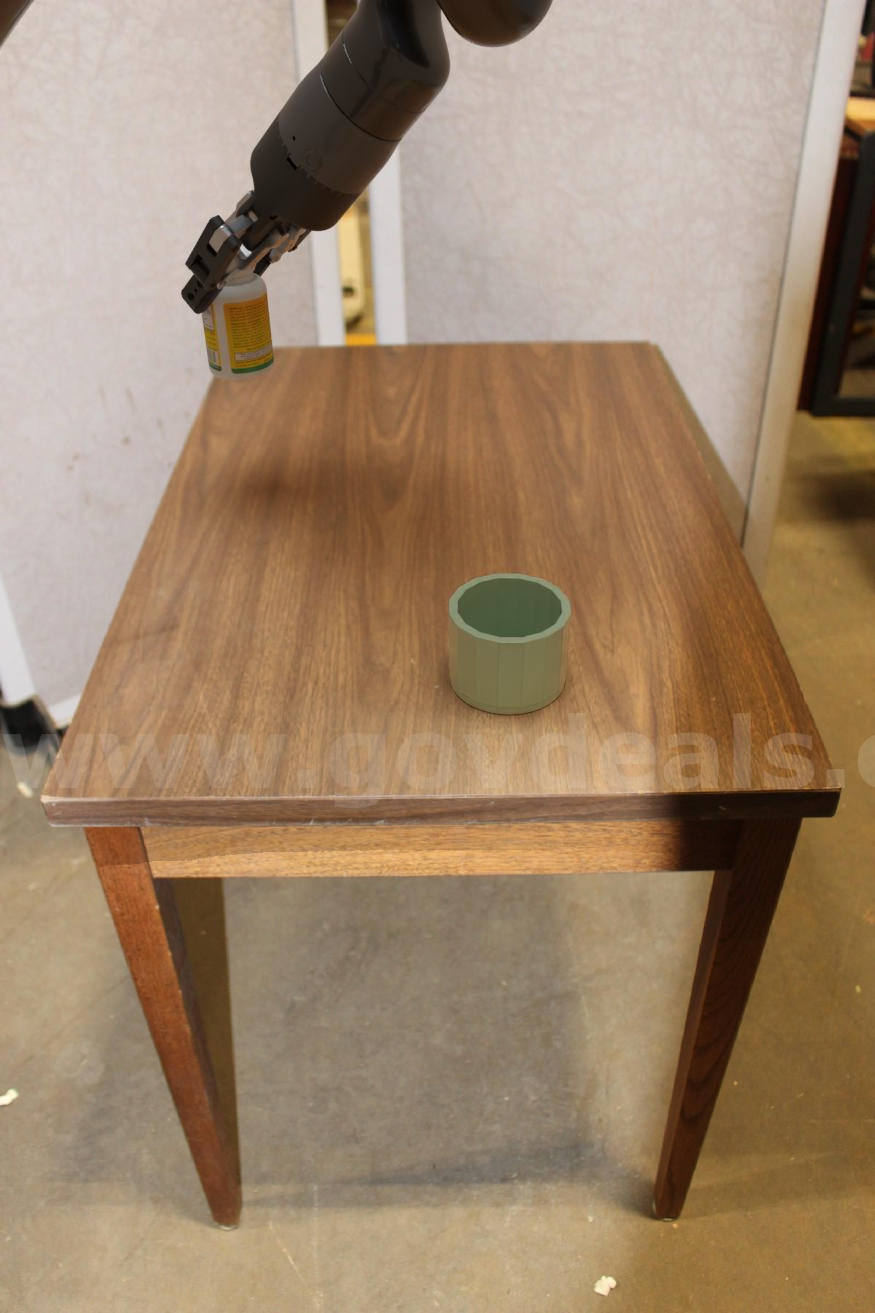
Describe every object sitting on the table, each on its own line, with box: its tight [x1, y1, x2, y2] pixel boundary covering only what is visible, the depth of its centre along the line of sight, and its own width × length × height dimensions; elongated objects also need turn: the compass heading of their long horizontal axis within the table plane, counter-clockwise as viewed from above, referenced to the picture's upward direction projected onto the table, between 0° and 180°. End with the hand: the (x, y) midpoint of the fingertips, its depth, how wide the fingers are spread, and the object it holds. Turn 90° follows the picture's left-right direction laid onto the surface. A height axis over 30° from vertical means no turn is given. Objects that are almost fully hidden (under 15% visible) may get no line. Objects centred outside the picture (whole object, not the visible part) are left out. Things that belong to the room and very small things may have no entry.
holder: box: [448, 572, 572, 716], centre depth 72 cm, size 8×8×6 cm
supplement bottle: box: [201, 244, 275, 382], centre depth 86 cm, size 5×5×10 cm
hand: (215, 291), depth 86 cm, fingers closed on supplement bottle, 5 cm apart
